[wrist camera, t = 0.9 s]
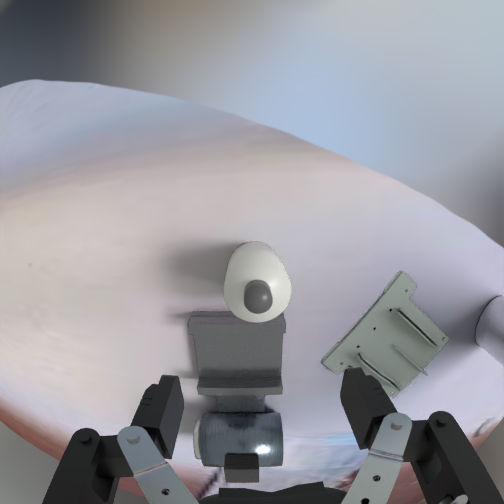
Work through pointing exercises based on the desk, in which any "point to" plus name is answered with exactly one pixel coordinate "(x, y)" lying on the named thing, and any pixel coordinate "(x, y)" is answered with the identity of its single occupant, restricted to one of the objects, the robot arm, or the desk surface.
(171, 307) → the desk surface
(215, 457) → the motor
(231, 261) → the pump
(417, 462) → the robot arm
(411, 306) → the metal bracket
